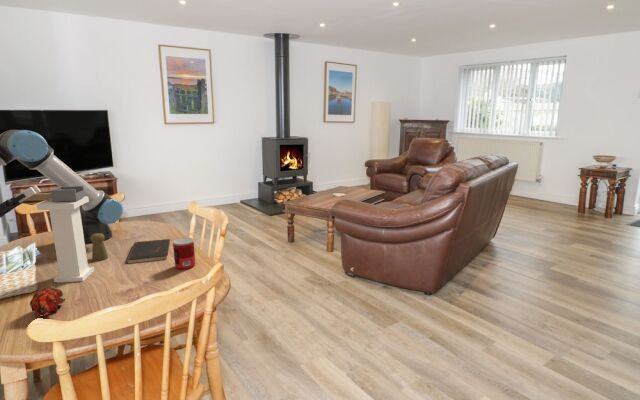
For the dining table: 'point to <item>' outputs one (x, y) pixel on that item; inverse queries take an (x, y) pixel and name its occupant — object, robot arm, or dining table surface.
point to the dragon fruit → (47, 301)
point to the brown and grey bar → (60, 194)
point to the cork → (98, 247)
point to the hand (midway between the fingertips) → (35, 189)
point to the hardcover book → (149, 251)
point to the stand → (68, 239)
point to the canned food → (184, 253)
